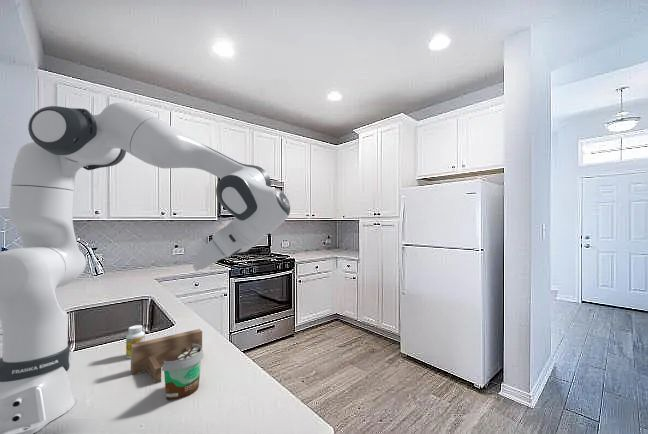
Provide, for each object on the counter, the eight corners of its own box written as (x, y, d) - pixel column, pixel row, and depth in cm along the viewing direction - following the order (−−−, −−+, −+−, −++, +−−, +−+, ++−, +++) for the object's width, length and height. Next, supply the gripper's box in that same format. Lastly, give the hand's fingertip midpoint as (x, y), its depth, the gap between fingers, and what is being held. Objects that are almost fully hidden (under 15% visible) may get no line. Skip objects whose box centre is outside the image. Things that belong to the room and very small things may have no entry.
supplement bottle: (148, 352, 102) (148, 324, 103) (137, 359, 97) (137, 329, 97) (133, 351, 103) (133, 324, 103) (122, 358, 97) (122, 329, 98)
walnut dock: (138, 389, 79) (138, 358, 79) (130, 371, 89) (130, 344, 89) (213, 365, 92) (213, 339, 92) (199, 352, 102) (199, 328, 102)
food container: (183, 406, 71) (184, 364, 72) (161, 403, 73) (162, 362, 73) (212, 380, 83) (212, 344, 84) (193, 378, 85) (193, 342, 85)
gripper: (251, 217, 88) (220, 242, 92) (211, 234, 69) (174, 265, 73) (264, 234, 88) (232, 258, 93) (227, 256, 69) (190, 285, 73)
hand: (206, 262), depth 83 cm, fingers open, 8 cm apart
